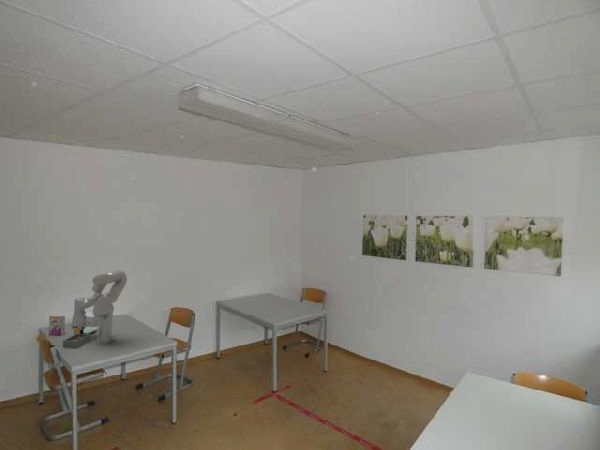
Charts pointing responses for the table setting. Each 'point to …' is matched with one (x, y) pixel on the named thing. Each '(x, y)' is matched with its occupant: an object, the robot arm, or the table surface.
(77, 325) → the robot arm
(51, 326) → the candy bar box
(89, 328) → the tool with wooden handle
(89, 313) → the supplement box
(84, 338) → the tub
